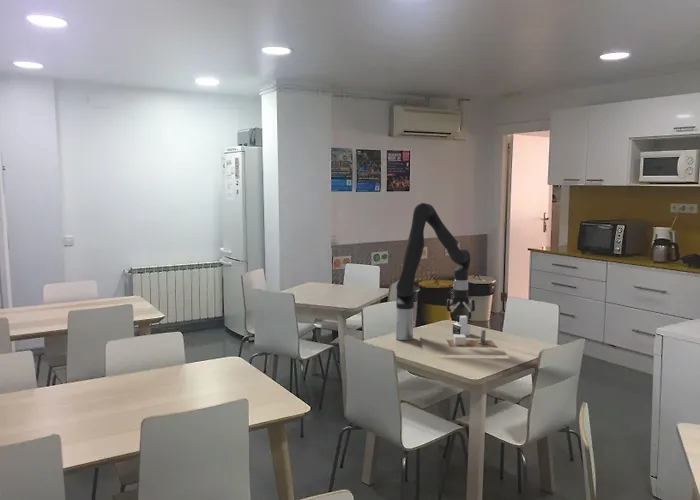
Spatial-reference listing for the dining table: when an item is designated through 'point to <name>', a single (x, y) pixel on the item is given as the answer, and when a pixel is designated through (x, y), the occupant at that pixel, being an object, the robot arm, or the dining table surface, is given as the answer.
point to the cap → (459, 339)
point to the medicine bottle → (461, 325)
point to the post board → (475, 342)
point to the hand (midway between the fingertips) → (460, 319)
